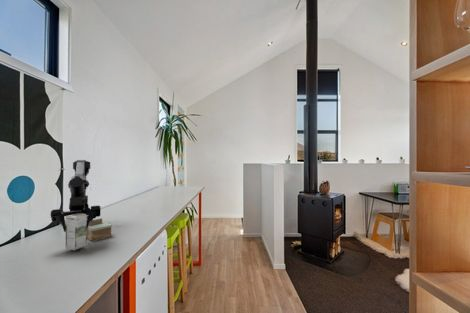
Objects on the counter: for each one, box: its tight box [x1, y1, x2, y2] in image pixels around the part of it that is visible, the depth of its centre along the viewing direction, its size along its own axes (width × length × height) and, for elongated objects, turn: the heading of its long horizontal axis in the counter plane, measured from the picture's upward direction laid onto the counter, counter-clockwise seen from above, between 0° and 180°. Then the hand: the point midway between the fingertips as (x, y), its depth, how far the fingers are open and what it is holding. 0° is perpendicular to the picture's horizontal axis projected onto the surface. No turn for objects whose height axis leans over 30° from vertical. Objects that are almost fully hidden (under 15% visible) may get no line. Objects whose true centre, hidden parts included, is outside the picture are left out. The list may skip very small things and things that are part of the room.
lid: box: [88, 218, 113, 231], centre depth 122 cm, size 12×9×4 cm
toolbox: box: [87, 227, 112, 242], centre depth 122 cm, size 12×9×5 cm
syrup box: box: [64, 213, 88, 251], centre depth 105 cm, size 6×6×14 cm
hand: (76, 229), depth 104 cm, fingers closed on syrup box, 8 cm apart
